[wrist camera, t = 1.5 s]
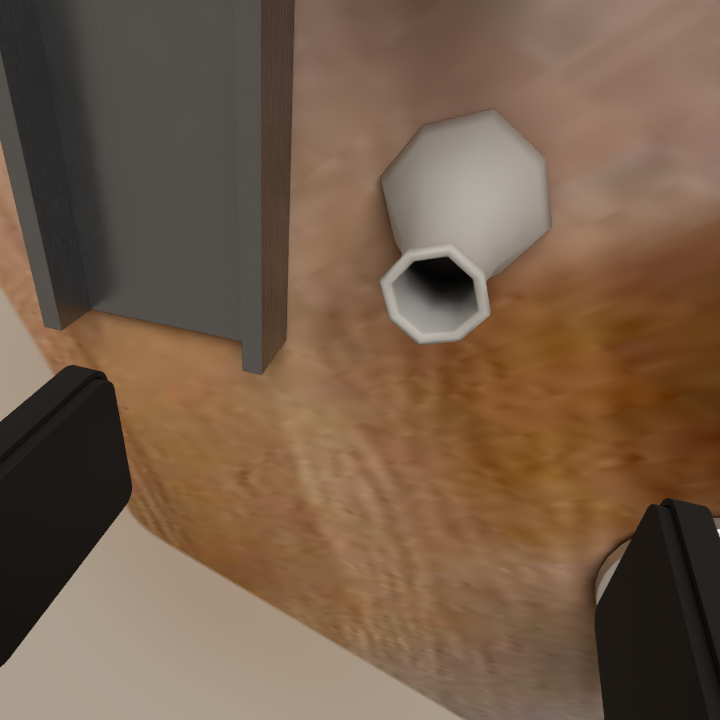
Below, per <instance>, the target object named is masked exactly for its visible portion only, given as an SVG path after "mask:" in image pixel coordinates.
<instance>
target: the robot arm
mask: <svg viewBox="0 0 720 720" xmlns="http://www.w3.org/2000/svg"><path fill="white" fill-rule="evenodd" d="M131 492H132V482H131V477H130V471H129V466H128V460H127V455H126V449H125V444H124V438H123V433H122V427H121V422H120V416H119V411H118V406H117V400H116V395H115V389H114V386H113V384H112V383H111V382H109V381H108V380H107V377H106V375H105V374H104V373H103V372H101V371H97V370H93V369H88V368H84V367H79V366H75V365H70V366H67V367H65V368H64V369H63V370H61V371H60V372H59V373H58V374H57V375H55V376H54V377H53V378H52V379H51V380H49V381H48V382H47V383H46V384H45V385H43V386H42V387H41V388H40V389H39V390H38V391H36V392H35V393H34V394H33V395H32V396H30V397H29V398H28V399H27V400H26V401H24V402H23V403H22V404H21V405H20V406H18V407H17V408H16V409H15V410H14V411H12V412H11V413H10V414H9V415H8V416H7V417H5V418H4V419H3V420H2V421H1V422H0V667H1V666H2V665H3V664H5V662H6V661H7V660H8V659H9V658H10V657H11V655H12V654H13V653H14V651H15V650H16V649H17V647H18V646H19V645H20V644H21V642H22V641H23V640H24V638H25V637H26V636H27V634H28V633H29V632H30V630H31V629H32V628H33V627H34V625H35V624H36V623H37V621H38V620H39V619H40V617H41V616H42V614H43V613H44V612H45V611H46V609H47V608H48V607H49V606H50V604H51V603H52V602H53V600H54V599H55V598H56V596H57V595H58V594H59V592H60V591H61V590H62V588H63V587H64V586H65V585H66V583H67V582H68V581H69V579H70V578H71V577H72V575H73V574H74V573H75V571H76V570H77V569H78V568H79V566H80V565H81V564H82V562H83V561H84V560H85V558H86V557H87V556H88V554H89V553H90V552H91V550H92V549H93V548H94V547H95V545H96V544H97V542H98V541H99V540H100V539H101V537H102V536H103V535H104V533H105V532H106V531H107V529H108V528H109V527H110V525H111V524H112V523H113V522H114V520H115V519H116V518H117V516H118V515H119V513H120V512H121V511H122V510H123V508H124V507H125V506H126V504H127V503H128V501H129V499H130V496H131ZM595 598H596V604H597V608H596V612H595V634H596V643H597V653H598V662H599V672H600V681H601V690H602V700H603V709H604V719H605V720H720V518H713V516H712V514H711V512H710V510H709V509H708V508H707V507H706V506H701V505H697V504H692V503H688V502H683V501H679V500H674V499H670V498H666V499H665V500H663V501H662V503H661V504H660V506H659V505H655V504H651V505H650V506H649V507H648V509H647V510H646V512H645V514H644V516H643V518H642V520H641V522H640V524H639V525H638V527H637V529H636V531H635V533H634V535H633V537H632V539H630V540H628V541H627V542H625V543H623V544H622V545H620V546H619V547H618V548H617V549H616V550H615V551H614V552H613V553H612V554H611V555H609V556H608V558H607V559H606V561H605V562H604V564H603V565H602V567H601V568H600V570H599V573H598V576H597V579H596V582H595Z"/></svg>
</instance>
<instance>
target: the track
mask: <svg viewBox="0 0 720 720" xmlns="http://www.w3.org/2000/svg"><path fill="white" fill-rule="evenodd" d="M293 40H294V0H0V140H1V145H2V149H3V153H4V157H5V162H6V166H7V170H8V174H9V178H10V183H11V187H12V191H13V195H14V200H15V204H16V208H17V212H18V216H19V221H20V225H21V229H22V233H23V238H24V242H25V246H26V250H27V254H28V259H29V263H30V267H31V271H32V276H33V280H34V284H35V288H36V292H37V297H38V301H39V305H40V309H41V314H42V318H43V322H44V326H45V327H48V328H52V329H57V330H61V331H62V330H63V329H65V328H66V327H67V326H69V325H70V324H72V323H73V322H74V321H76V320H77V319H78V318H80V317H81V316H83V315H84V314H85V313H87V312H88V311H89V310H91V309H93V310H98V311H103V312H107V313H112V314H117V315H121V316H126V317H131V318H135V319H140V320H145V321H149V322H154V323H159V324H163V325H168V326H173V327H178V328H182V329H187V330H192V331H196V332H201V333H206V334H210V335H215V336H220V337H224V338H229V339H234V340H238V341H242V367H243V371H246V372H251V373H255V374H260V375H262V374H263V372H264V371H265V370H266V368H267V367H268V365H269V364H270V362H271V361H272V360H273V358H274V357H275V355H276V354H277V352H278V351H279V350H280V348H281V347H282V345H283V344H284V342H285V341H286V328H287V287H288V246H289V205H290V164H291V123H292V81H293Z"/></svg>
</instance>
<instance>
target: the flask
mask: <svg viewBox="0 0 720 720" xmlns="http://www.w3.org/2000/svg"><path fill="white" fill-rule="evenodd" d="M380 179H381V183H382V188H383V192H384V197H385V201H386V205H387V210H388V214H389V219H390V223H391V227H392V232H393V236H394V240H395V242H396V244H397V246H398V248H399V249H400V251H401V253H402V254H401V258H400V259H399V260H398V261H397V262H396V263H395V264H394V265H393V266H392V267H391V268H390V269H389V271H388V272H387V273H386V274H385V275H384V276H383V277H382V278H381V280H380V285H381V289H382V293H383V297H384V301H385V305H386V309H387V313H388V317H389V319H390V320H391V321H392V322H393V323H394V324H395V325H397V326H398V327H399V328H400V329H401V330H402V331H404V332H405V333H406V334H407V335H408V336H409V337H411V338H412V339H413V340H414V341H415V342H416V343H418V344H419V345H425V344H435V343H445V342H455V341H460V340H461V339H463V338H464V337H465V336H466V335H467V334H468V333H470V332H471V331H472V330H473V329H474V328H475V327H477V326H478V325H479V324H480V323H481V322H482V321H484V320H485V319H486V318H487V317H488V316H489V315H490V312H491V311H490V305H489V298H488V292H487V286H486V281H487V280H488V279H489V278H491V277H493V276H495V275H498V274H499V273H501V272H502V271H504V270H505V269H506V268H507V267H508V266H509V265H510V264H511V263H512V262H514V261H515V260H516V259H517V258H518V257H519V256H520V255H521V254H522V253H524V252H525V251H526V250H527V249H528V248H529V247H530V246H531V245H532V244H534V243H535V242H536V241H537V240H538V239H539V238H540V237H541V236H543V235H544V234H545V233H546V232H547V231H548V230H549V229H550V228H551V227H552V221H551V210H550V200H549V189H548V179H547V168H546V159H545V158H544V157H543V156H542V155H541V154H540V153H539V152H538V151H537V150H536V149H535V148H534V147H533V146H532V145H531V144H530V143H529V142H528V141H527V140H526V139H525V138H524V137H523V136H522V135H521V134H520V133H519V132H518V131H517V130H516V129H515V128H514V127H513V126H512V125H510V124H509V123H508V122H507V121H506V120H505V119H504V118H503V117H502V116H501V115H500V114H499V113H498V112H497V111H496V110H495V109H492V110H487V111H483V112H478V113H474V114H470V115H465V116H461V117H456V118H452V119H447V120H443V121H438V122H434V123H430V124H425V125H423V126H422V127H421V129H420V130H419V131H418V132H417V133H416V135H415V136H414V137H413V138H412V139H411V141H410V142H409V143H408V144H407V145H406V147H405V148H404V149H403V150H402V151H401V153H400V154H399V155H398V156H397V157H396V159H395V160H394V161H393V162H392V163H391V165H390V166H389V167H388V168H387V169H386V171H385V172H384V173H383V174H382V175H381V177H380Z"/></svg>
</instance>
